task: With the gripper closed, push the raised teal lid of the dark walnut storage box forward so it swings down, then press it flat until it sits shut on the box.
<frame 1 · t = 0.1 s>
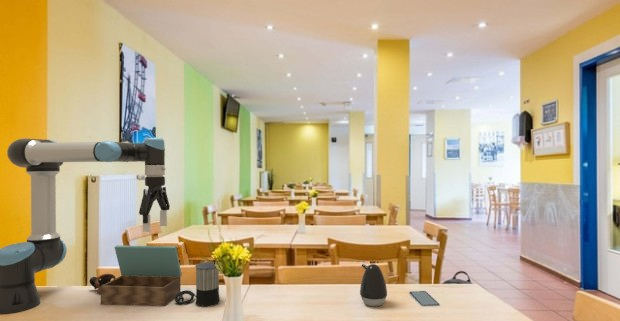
hand: (155, 228, 160), 28 cm above the table, tool pointing down, fingers open, 13 cm apart
smartphone: (423, 300, 156), on the table
pump dispenser: (373, 304, 151), on the table
milk frother: (197, 303, 154), on the table
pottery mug: (103, 291, 169), on the table
storage box: (141, 298, 159), on the table
lid: (148, 261, 164), point 14 cm above the table, hinge at 70.0°
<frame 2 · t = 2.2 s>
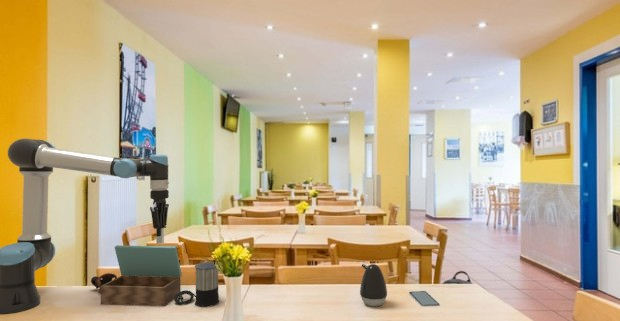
hand: (160, 243, 174), 19 cm above the table, tool pointing down, fingers closed
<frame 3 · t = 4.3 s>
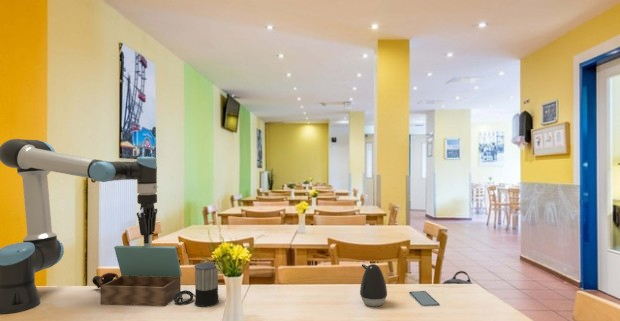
hand: (147, 250, 164), 18 cm above the table, tool pointing down, fingers closed
lid: (148, 261, 164), point 14 cm above the table, hinge at 69.1°, touching gripper
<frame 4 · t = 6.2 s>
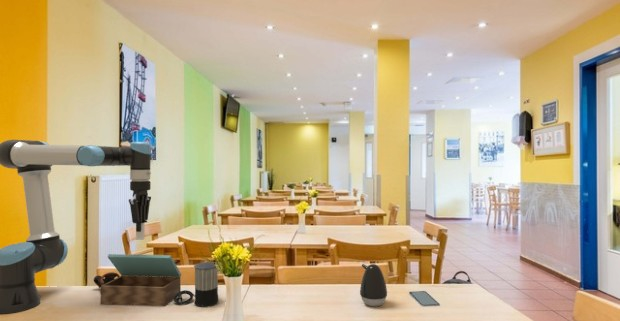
hand: (140, 239, 158), 24 cm above the table, tool pointing down, fingers closed
lid: (145, 265, 162), point 13 cm above the table, hinge at 47.1°
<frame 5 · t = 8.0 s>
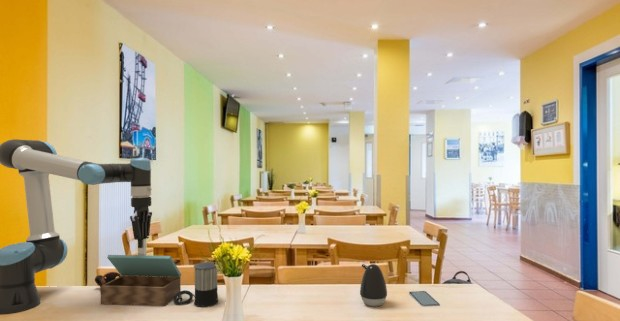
hand: (142, 255, 159), 17 cm above the table, tool pointing down, fingers closed
lid: (145, 265, 161), point 13 cm above the table, hinge at 45.9°, touching gripper
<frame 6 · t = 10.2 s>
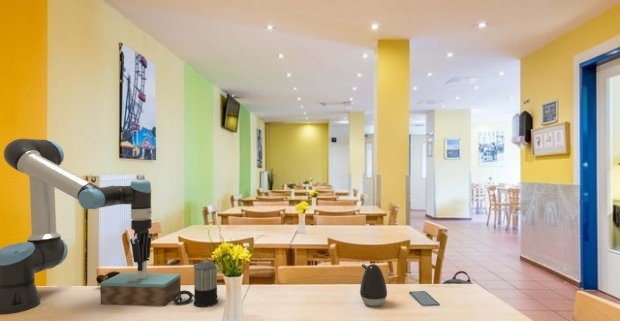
hand: (142, 277, 158), 9 cm above the table, tool pointing down, fingers closed, pressing on lid
lid: (141, 279, 159), point 8 cm above the table, hinge at 0.3°, touching gripper
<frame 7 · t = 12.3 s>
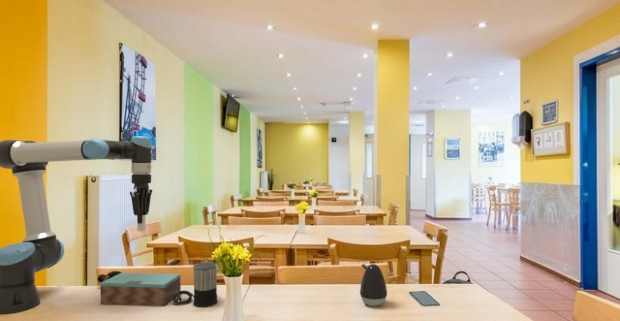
hand: (141, 230, 163), 27 cm above the table, tool pointing down, fingers closed
lid: (141, 279, 159), point 8 cm above the table, hinge at 0.1°
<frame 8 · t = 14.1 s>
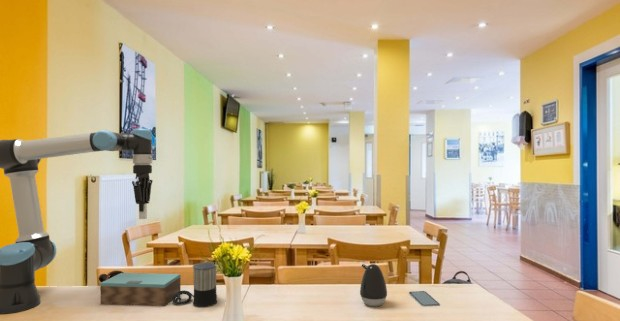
hand: (142, 218, 171), 30 cm above the table, tool pointing down, fingers closed
at the end: lid at +0° (first picture: +70°) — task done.
